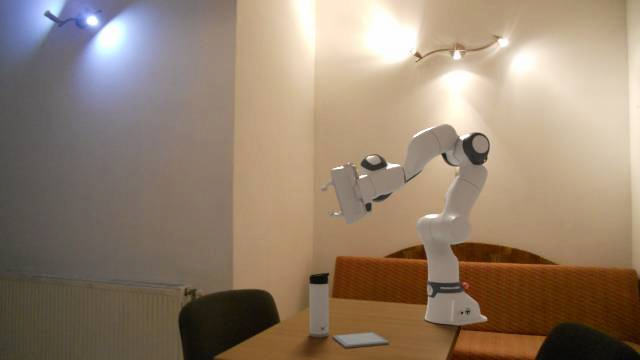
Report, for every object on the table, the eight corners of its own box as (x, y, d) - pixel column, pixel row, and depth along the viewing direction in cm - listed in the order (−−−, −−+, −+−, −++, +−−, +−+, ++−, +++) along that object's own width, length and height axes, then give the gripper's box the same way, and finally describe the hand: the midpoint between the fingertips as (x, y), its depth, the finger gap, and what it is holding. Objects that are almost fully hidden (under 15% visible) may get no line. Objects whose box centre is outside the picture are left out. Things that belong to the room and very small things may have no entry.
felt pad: (372, 334, 149) (372, 331, 149) (389, 343, 138) (389, 341, 138) (332, 337, 145) (332, 335, 145) (345, 348, 134) (345, 345, 134)
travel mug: (327, 338, 144) (327, 274, 146) (307, 337, 146) (307, 273, 147) (331, 333, 150) (331, 271, 152) (311, 332, 152) (311, 271, 153)
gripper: (356, 162, 154) (318, 175, 152) (372, 217, 158) (335, 231, 156) (351, 160, 160) (314, 172, 158) (367, 213, 164) (331, 226, 162)
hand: (325, 202), depth 157 cm, fingers open, 8 cm apart
